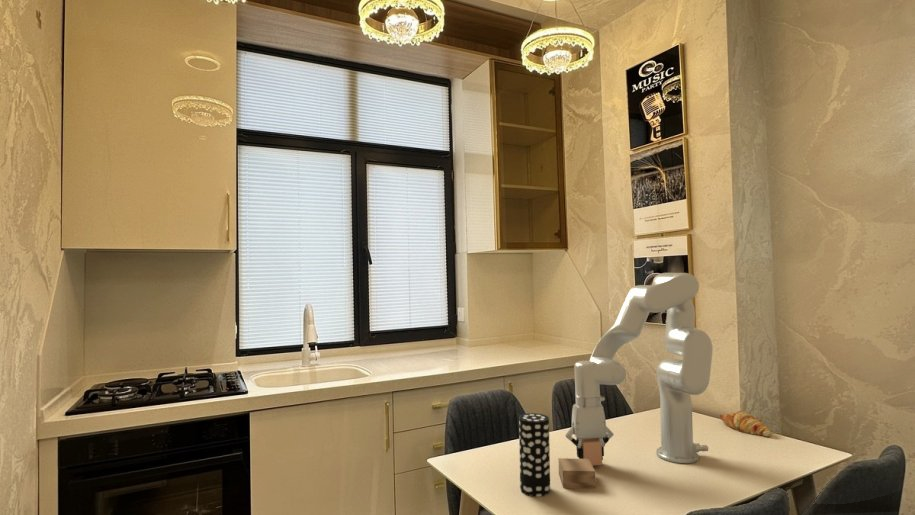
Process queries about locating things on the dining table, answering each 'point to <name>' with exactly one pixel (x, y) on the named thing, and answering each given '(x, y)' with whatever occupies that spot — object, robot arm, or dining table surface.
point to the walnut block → (576, 473)
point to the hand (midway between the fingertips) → (590, 458)
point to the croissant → (745, 423)
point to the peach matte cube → (592, 450)
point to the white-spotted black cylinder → (534, 454)
